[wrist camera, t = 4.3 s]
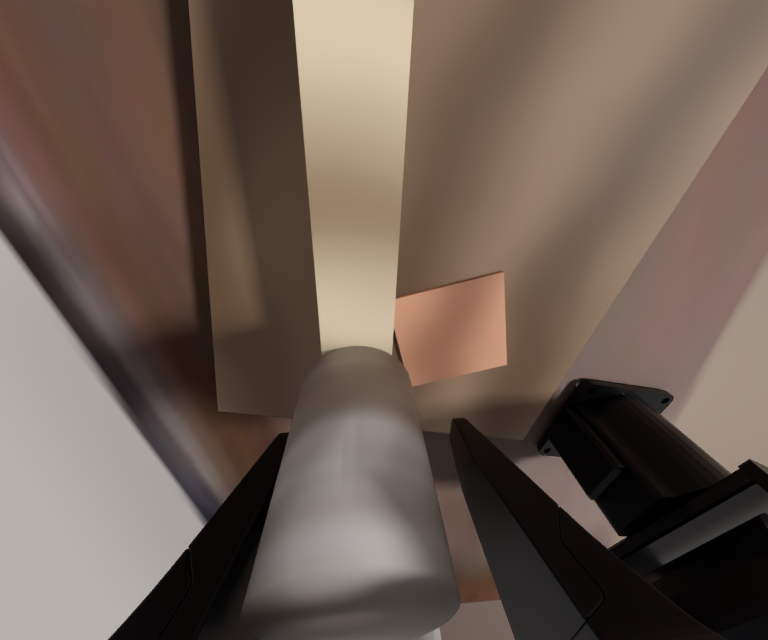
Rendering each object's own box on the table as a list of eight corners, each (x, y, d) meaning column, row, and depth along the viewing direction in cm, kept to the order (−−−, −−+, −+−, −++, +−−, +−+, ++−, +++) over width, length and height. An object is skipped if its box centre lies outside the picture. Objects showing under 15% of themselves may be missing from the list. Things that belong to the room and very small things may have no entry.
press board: (917, -256, 7) (1153, -434, 5) (511, 421, 19) (531, 455, 17) (178, -795, 4) (4, -1709, 2) (229, 390, 16) (208, 426, 14)
